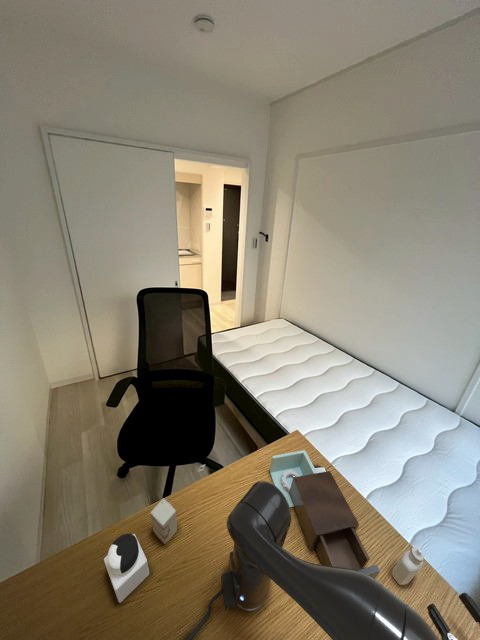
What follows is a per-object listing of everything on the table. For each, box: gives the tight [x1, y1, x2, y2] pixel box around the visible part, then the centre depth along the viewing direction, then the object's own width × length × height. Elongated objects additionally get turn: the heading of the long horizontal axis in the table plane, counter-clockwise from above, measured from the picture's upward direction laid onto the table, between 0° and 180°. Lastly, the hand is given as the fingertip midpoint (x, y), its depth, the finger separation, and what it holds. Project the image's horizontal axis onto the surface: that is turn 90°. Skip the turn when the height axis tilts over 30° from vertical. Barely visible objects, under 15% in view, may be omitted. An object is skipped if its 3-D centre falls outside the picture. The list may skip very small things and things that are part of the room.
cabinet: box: [289, 470, 360, 552], centre depth 71 cm, size 15×13×8 cm
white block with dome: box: [103, 533, 150, 604], centre depth 56 cm, size 7×7×12 cm
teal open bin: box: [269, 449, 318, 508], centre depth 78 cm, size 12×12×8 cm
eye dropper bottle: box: [391, 547, 424, 586], centre depth 59 cm, size 4×6×12 cm
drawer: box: [315, 527, 381, 580], centre depth 61 cm, size 18×11×6 cm, turn 12°
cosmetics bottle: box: [150, 497, 178, 546], centre depth 64 cm, size 5×4×10 cm
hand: (445, 599), depth 51 cm, fingers open, 8 cm apart
